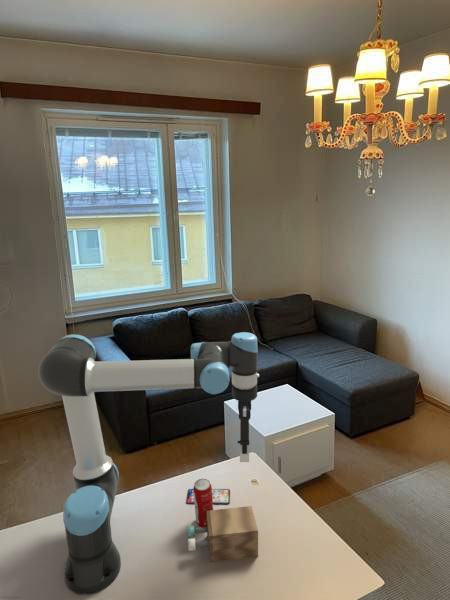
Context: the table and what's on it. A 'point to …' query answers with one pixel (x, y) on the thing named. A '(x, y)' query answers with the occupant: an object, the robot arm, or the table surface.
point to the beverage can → (202, 501)
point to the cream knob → (196, 543)
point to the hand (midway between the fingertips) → (244, 448)
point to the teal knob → (196, 530)
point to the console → (232, 534)
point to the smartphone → (217, 496)
